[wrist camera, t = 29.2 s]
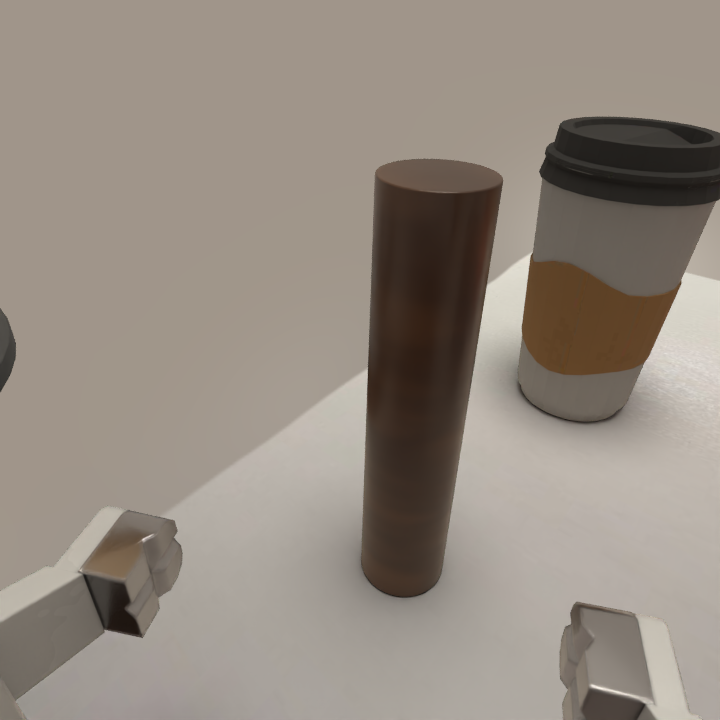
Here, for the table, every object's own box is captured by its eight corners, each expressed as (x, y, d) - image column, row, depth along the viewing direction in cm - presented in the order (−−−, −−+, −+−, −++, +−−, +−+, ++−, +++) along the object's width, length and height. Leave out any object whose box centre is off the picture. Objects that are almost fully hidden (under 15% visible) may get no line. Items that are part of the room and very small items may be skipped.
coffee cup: (667, 396, 34) (770, 134, 26) (598, 457, 29) (698, 161, 21) (547, 341, 39) (601, 109, 31) (472, 386, 34) (513, 126, 26)
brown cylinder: (374, 605, 22) (398, 195, 13) (352, 537, 25) (360, 160, 16) (455, 587, 23) (527, 188, 14) (425, 522, 25) (470, 156, 17)
